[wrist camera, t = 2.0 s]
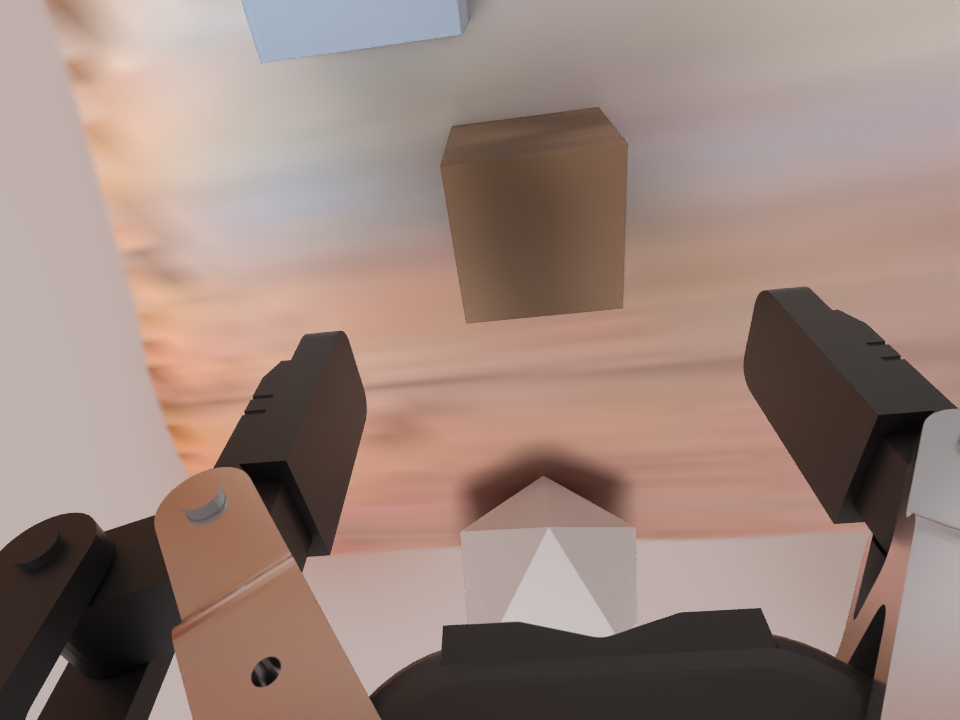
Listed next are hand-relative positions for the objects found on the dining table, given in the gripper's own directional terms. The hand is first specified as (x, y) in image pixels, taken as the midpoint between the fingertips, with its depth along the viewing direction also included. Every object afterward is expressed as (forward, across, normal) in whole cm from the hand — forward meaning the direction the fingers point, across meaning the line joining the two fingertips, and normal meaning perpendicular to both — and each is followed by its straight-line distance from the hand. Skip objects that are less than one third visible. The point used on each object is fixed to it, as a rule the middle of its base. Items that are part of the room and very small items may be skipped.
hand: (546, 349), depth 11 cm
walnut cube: (+11, 0, 0) cm, 11 cm away
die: (+6, 0, +13) cm, 15 cm away
